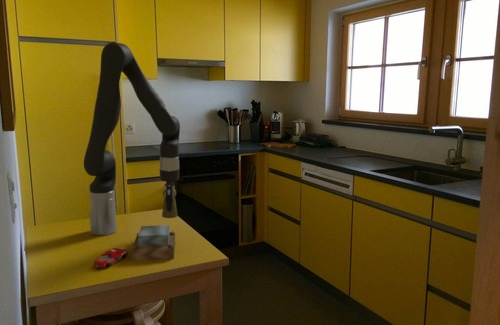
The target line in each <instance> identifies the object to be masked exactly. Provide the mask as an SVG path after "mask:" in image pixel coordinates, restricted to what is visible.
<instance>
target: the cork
mask: <svg viewBox="0 0 500 325" xmlns="http://www.w3.org/2000/svg"><path fill="white" fill-rule="evenodd" d="M172 190H173V189H172ZM172 194H173V192H172ZM162 196H163V197H164V198H163V203H162V204H163V207H162V213H161V217H162V218H163V219H164V218H165V219H175V218H177V217H178V209H177V202H176V196H177V190H176V189H174V197H173V203H172V210H171V211H168V210H167V203H166V197H165V190H164V189H163V191H162ZM167 200H171V198H167Z"/></svg>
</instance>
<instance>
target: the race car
mask: <svg viewBox="0 0 500 325" xmlns="http://www.w3.org/2000/svg"><path fill="white" fill-rule="evenodd" d="M128 255H129V252H128V250H127V248H125V247H113V248H110V249H107V251H104V252H103V254H102V253H101V254H100V256H99V257H98V258H96V259H95V261H94V262H93V267H94V268H95V269H99V270H100V269H101V270H102V269H109V268H110V267H112V266H114V265H115V264H117V263H119V262H120V261H122V260H125V259H126V258H127V257H128Z"/></svg>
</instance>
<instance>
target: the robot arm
mask: <svg viewBox="0 0 500 325" xmlns="http://www.w3.org/2000/svg"><path fill="white" fill-rule="evenodd" d="M101 50H102V51H101V54H100V70H99V73H100V74H99V81H98V82H99V83H98V85H97V86H98V87H97V88H98V89H97V91H96V92H97V93H96V98H95V99H96V100H95V103H94V110H93V117H92V118H93V119H92V124H91V128H90V129H91V130H90V134H89V138H88V144H87V147H86V150H85V155H84V158H83V167H84V168H83V169H84V171H85V172H86V174H87V175H89V176H91V177H95V178H94V179H93V181H92V182H91V183H90V184H89V198H90V199H89V201H90V211H89V220H90V223H89V225H90V235H95V236H108V235H111V234H114V233H115V232H116V233H117V216H116V200H115V184H116V181H117V179H116V178H117V170H116V169H117V164H116V158H115V156H114V154H113V153H112V152H111V151H109V150H108V149H107V148H106V147H107V143H108V141H109V139H110V137H111V136H112V134H113V133H114V131H115V129H116V128H117V125H118V123H119V121H120V115H121V109H122V98H121V90H120V81H121V76H122V73H123V74H124V76H126V78H127V79H128V81H129V82H130V83H129V84H131V86H132V88H133V91H134V93H135V95H136V97H137V99H138V101H139V102H140V104H141V105H142V106H143V108H144V109H145V110H146V112H147V113H148V114H149V115H150V117H151V120H152V121H153V124H154V125H155V127H156V129H157V130H158V131H159V132H160V134H161V135H162V136H161V143H160V144H159V145H160V146H159V148H160V149H159V180H160V181H161V182H165V183H164V185H163V188H164V189H163V191H164V190H165V197H166V203H167V210H168V211H171V210H172V203H173V197H174V189H175V188H176V187H175V186H176V185H175V184H176V183H174V182H177V181H179V180H180V160H179V159H180V158H179V157H180V156H179V152H180V151H179V150H180V148H179V142H180V133H181V132H180V131H181V125H180V121H179V119H178V118H177V117H176V116H173V115H171V114H170V112H169V111H168V110H167V108H166V104H165V102H164V101H163V99H162V98H161V97H160V95H159V94H158V92H157V91H156V90H155V89H154V87H153V86H152V84H151V83H150V81H149V80H148V79H147V77H146V75H145V74H144V72H143V69H141V66H140V65H139V63H138V61H137V59H136V57H135V55H134V53H133V51H132V50H131V48H130V47H129V46H128V45H126V44H125V43H121V42H109V43H107V44H105V46H104V47H103V48H102V49H101ZM172 189H173V190H172ZM175 190H176V189H175ZM172 192H173V194H172ZM167 198H171V200H167Z"/></svg>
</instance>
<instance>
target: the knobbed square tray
mask: <svg viewBox="0 0 500 325" xmlns="http://www.w3.org/2000/svg"><path fill="white" fill-rule="evenodd" d="M131 247H132V248H131V260H132V261H151V260H169V259H175V252H176V233H175V231H170V225H169V224H166V225H165V224H163V225H161V224H160V225H141V226H140V229H139V232H137V233H136V236H135V239H134V242H133V245H132V246H131Z"/></svg>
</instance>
